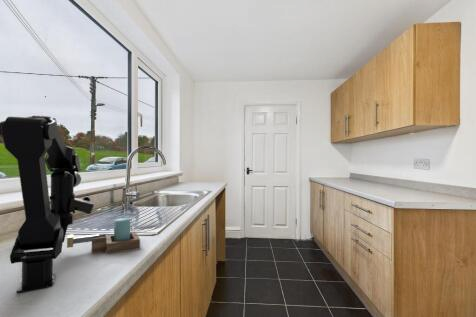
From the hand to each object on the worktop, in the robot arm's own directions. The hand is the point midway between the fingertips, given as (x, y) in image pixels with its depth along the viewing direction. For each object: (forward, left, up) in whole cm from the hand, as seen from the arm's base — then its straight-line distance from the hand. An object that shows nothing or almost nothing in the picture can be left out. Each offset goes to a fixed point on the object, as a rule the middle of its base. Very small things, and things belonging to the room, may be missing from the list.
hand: (61, 242), depth 76 cm
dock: (0, -15, -4) cm, 15 cm away
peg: (0, -17, -4) cm, 17 cm away
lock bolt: (0, -6, -1) cm, 6 cm away
